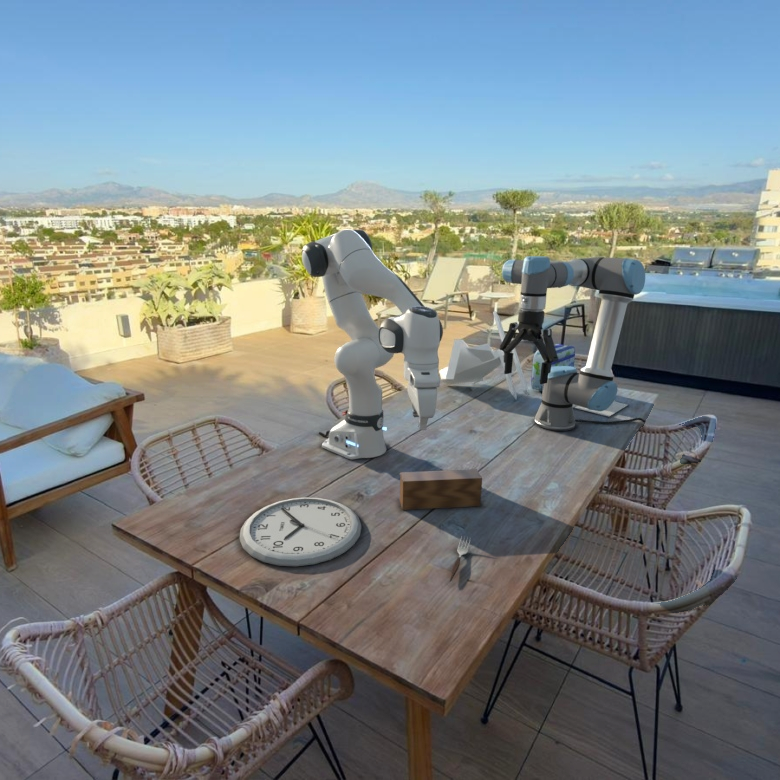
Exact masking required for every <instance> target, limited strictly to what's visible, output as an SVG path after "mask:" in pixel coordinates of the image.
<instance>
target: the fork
mask: <svg viewBox="0 0 780 780" xmlns="http://www.w3.org/2000/svg"><path fill="white" fill-rule="evenodd" d="M465 538H466V540H465ZM462 539H463V540H462ZM468 539H469V541H468ZM470 545H471V537H469V538H468V536H464V537H463V535H461V536H460V540H459V543H458V545H457V549H456V550H457V553H458V557H457V558H456V560H455V562H454V564H453V566H452V571H451V575H450V577H449V582H451V581H452V580H453V578H454V576H455V575H456V573H457V571H458V569H459V567H460V563H461V558H462V556H465V555H468V553H469V551H470Z"/></svg>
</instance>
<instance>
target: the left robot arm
mask: <svg viewBox="0 0 780 780" xmlns="http://www.w3.org/2000/svg"><path fill="white" fill-rule="evenodd" d="M373 249H374V248H373V244H372V240H371V238H370V236H369V234H368V233H367V232H366V231H365V230H363V229H351V228H350V229H349V228H347V229H342V230H339V231H337V232H336V233H333V234H331V235H328V236H325V237H322V238H319V239H318V240H315V241H314V240H311V241H310V242H308V243H306V244H305V245H304V246H303V248H302V250H301V262H302V265H303V268H304V269H305V270H306V272H307V274H309V276H311V277H313V278H322V279H321V280H322V284H323V289H324V294H325V297H326V299H327V302H328V304H329V309H330V311H331V313H332V316H333V319H334V322H335V324H336V326H337V327H338V328H339V329H341V330H343V332H345V333H346V334H347V335H348V336H349V338H350V340H349V341H347V342H345V343H344V344H343V345H341V346H340V347H338V348H337V349H336V351H335V353H334V358H333V361H334V366H335V367H336V369H337V371H338V372H339V373H340V374H341V375H343V377H344V379H345V382H346V385H347V390H348V409H346V410H345V411H342V417H344V419H343V420H341V421H340V422H338V423H336V425H334V426H333V427H332V428H331V429H328V430H326V431H325V433H323V432H321V431H319V432H318V435H321V436H322V437H324V438H326V437H328V438H326V439H325V440H323V441H322V443H321V448H322V449H325V450H326V451H329V452H331V453H334V454H336V455H339V456H341V457H343V458H345V459H348V460H358V459H371V458H376V457H380V456H382V455H384V454H385V453H386V452H387V446H386V443H385V442H386V441H385V437H384V431H387V430H388V429H387V428H388V427H386V426H384V410H383V388H382V385H380V384H379V383H377V379H376V376H375V370H376V369H378V368H381V367H384V366H385V365H386V364H387V363H389V362H390V361H391V360H392V359H393V358H394V355H395V354H403V356H404V358H403V379H404V380H405V381H407V389H406V390H407V395H408V397H409V399H410V402H411V407H412V408H411V409H412V416H413V417H414V418H419V421H418V428H419V431H426V430H427V427H428V421H429V419H433V418H434V416H435V414H436V408H437V399H438V388H440V386H441V377H440V372H439V369H440V368H439V366H440V358H439V352H438V351H439V347H440V344H441V341H442V338H443V335H444V326H443V324H442V321H441V320H440V317H439V313H438V312H437V311H436V310H434V309H433V308H431V307H428V306H425V305H424V304H423V302H421V300H420V299H419V298H418V296H416V294H415V293H414V292H413V290H411V288H410V287H409V286H408V285H407V284H406V282H405V281H404V280H403V279H402V278H401V277H400V276H399V275H397V274H396V273H395V272H393V271H392V270H391V269H389V268H388V267H387V266H386V265H384V264H383V262H382V261H381V260H380V259H379V258H378V257H377V256H376V254H375V253H374V251H373ZM363 295H367V296H373V297H379V298H382V299H385V300H387V301H389V302H391V303H393V304H394V305H395V306H396V307H397V309H398V310H399V311H400V313H401V314H398V315H394V316H390V317H388V318H385V319H384V320H382V322H381V323H380V325H377V323H376V322H375V320H374V319H373V317H372V316H371V314H370V312H369V308H368V305H367V304H366V301H365V299H364V296H363Z"/></svg>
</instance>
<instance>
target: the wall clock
mask: <svg viewBox="0 0 780 780" xmlns="http://www.w3.org/2000/svg"><path fill="white" fill-rule="evenodd" d="M361 531H362V523H361V520H360V518H359V516H358V514H356V512H354V510H353V509H351V508H350V507H348V506H346V505H345V504H343V503H340V502H337V501H335V500H333V499H332V500H331V499H326V498H321V497H295V498H289V499H284V500H279V501H276V502H274V503H271V504H268V505H266V506H264V507H262V508H261V509H258V510H257V511H255V512H253V514H252V515H250V516H249V517H248V518H247V519H246V520H245V521H244V522H243V524H242V527H241V528H240V531H239V542H240V544H241V547H242V549H243V550H244V551H245V552H246V553H247V554H248V555H249V556H251V557H252V558H254V559H255V560H258V561H260V562H262V563H266V564H269V565H274V566H278V567H279V566H280V567H303V566H304V567H305V566H311V565H312V566H313V565H316V564H320V563H323V562H324V563H325V562H327V561H331V560H333V559H335V558H337V557H339V556H341V555H343V554H344V553H346V552H347V551H349V550H350V549H351V548H352V547H353V546H355V544H356V543H357V541H358V540H359V538H360V537H361Z"/></svg>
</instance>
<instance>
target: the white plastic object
mask: <svg viewBox="0 0 780 780" xmlns="http://www.w3.org/2000/svg"><path fill="white" fill-rule="evenodd" d="M492 315H493V319H494V321H495V324H496V325H495V326H496V328H497V332H498V335H499V338H500V342H502V341H503V340H504V338H505V336H506V334H505V331H504V328H503V325H502V321H501V318H500V315H499V314H498V312H497V311H496V310H495V311H492ZM510 353H513V363H514V366H515V369H516V372H517V376H518V380H519V382H520V385H521V389H522V391H523V393H524V395H525V396H526V397H528V396H531V395H530V390H529V388H528V387H529V386H528V384H527V381H526V378H525V375H524V371H523V369H522V368H523V367H522V366H521V362H520V359H519V355H518V352H517V349H516V347H515V348H514V349H513V350H512V352H510ZM500 366H502V370H503V371H504V370H505V363H504V351H502V350H500V349H499V348H498V349H496V350H495V349H493V348H492V347H491V346H490V344H489V343H488V342H487V343H483V344H479V345H473V346H469V345H468V343H466V342H465V340H464V339H463V338H460V339H458V338H454V340H453V344H452V349H451V353H450V357H449V362H448V366H446V367H444V368H442V369H440V370H439V377H440V381H442V383H443V384H444V385H445V386H449V385H458V384H467V383H468V384H469V383H473V384H477V383H480V382H482V381H484V378H485V377H486V376H487V375H489V374H490V373H492V372H494V371H495V370H496V369H497V368H499V367H500ZM504 376H505V380H506V383H507V386H508V390H509V393H510V394H511V395H512V397H513V398H514V399H515V400H517V392H516V391H517V390H516V388H515V385H514V381H513V378H512V375H511V373H509V374H504Z"/></svg>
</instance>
